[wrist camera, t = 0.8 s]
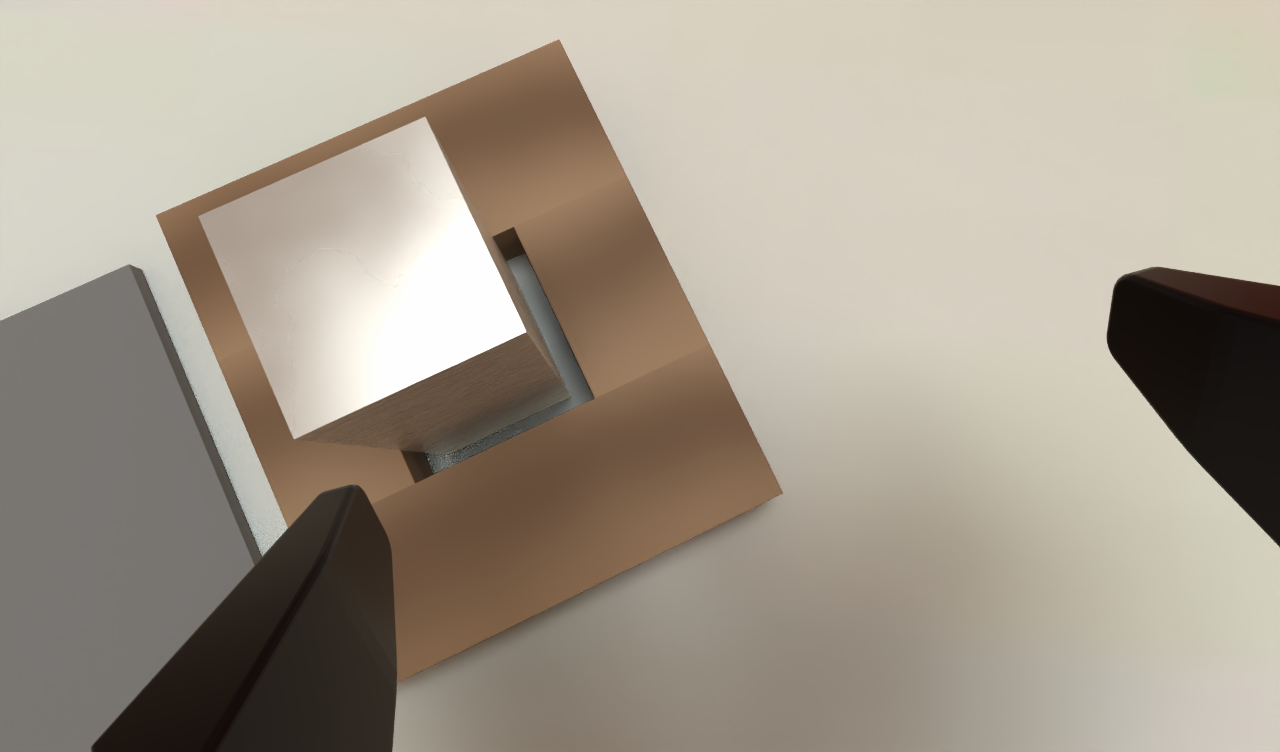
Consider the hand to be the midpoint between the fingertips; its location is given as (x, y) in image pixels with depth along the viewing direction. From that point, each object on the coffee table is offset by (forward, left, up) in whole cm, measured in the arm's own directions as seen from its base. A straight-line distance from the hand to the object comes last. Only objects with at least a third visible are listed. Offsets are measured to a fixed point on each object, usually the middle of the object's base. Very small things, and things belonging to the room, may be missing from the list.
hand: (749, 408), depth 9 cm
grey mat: (+5, +17, -14) cm, 23 cm away
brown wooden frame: (+5, +4, -14) cm, 16 cm away
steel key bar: (+5, +4, -14) cm, 16 cm away
